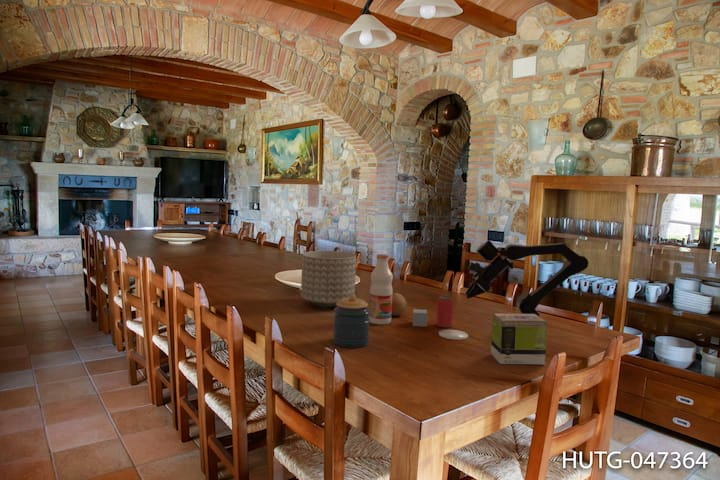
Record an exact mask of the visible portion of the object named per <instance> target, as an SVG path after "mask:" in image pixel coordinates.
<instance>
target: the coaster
mask: <svg viewBox="0 0 720 480" xmlns="http://www.w3.org/2000/svg"><path fill="white" fill-rule="evenodd" d="M438 336H439V337H441V338H442V339H447V340H453V341H454V340H455V341H460V340H466V339H468V337H469V335H468V333H466V332H465V331H462V330H457V329H442V330H439V331H438Z"/></svg>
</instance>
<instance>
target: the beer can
mask: <svg viewBox="0 0 720 480" xmlns="http://www.w3.org/2000/svg"><path fill="white" fill-rule="evenodd" d="M436 305H437V306H436V319H435V321H436V322H435V325H436V326H438V328H439V327H440V328H443V329H445V328H446V329H447V328H448V329H449V328H451V327H452V326H453V320H454V319H453V318H454V300H453V297H452V296H449V295H440V296H438V299H437V303H436Z"/></svg>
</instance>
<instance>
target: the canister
mask: <svg viewBox="0 0 720 480" xmlns="http://www.w3.org/2000/svg"><path fill="white" fill-rule="evenodd" d="M336 305H337V307H333V312H334V317H333V320H332V321H333V330H332V331H333V334H332V342H333V344H334V345H336V346H338V347H341V348H347V349H358V348H364V347H366V346H367V345H368V344H369V341H370V323H371V322H370V319H369V313H370V310H369V303H368V302H366V300H364V299H361V298H359V297H358V298H357V296H356V293H355V294H350V295H349V298H344V299H341V300H340V301H338V302H337V303H336Z"/></svg>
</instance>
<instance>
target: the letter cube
mask: <svg viewBox="0 0 720 480" xmlns="http://www.w3.org/2000/svg"><path fill="white" fill-rule="evenodd" d="M427 324H428V310H427V309H416V308H413V310H412V327H423V328H424V327H426V328H428V327H427V326H428V325H427Z"/></svg>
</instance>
